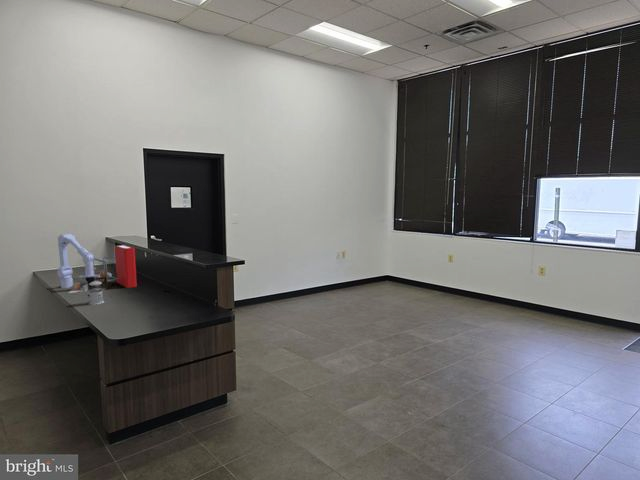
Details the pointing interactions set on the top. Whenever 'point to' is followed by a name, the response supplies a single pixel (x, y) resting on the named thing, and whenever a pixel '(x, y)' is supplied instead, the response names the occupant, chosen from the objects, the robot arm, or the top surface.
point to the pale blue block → (85, 288)
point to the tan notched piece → (82, 288)
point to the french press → (96, 293)
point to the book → (125, 266)
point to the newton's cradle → (105, 267)
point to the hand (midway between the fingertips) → (90, 286)
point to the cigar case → (101, 279)
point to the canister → (76, 286)
